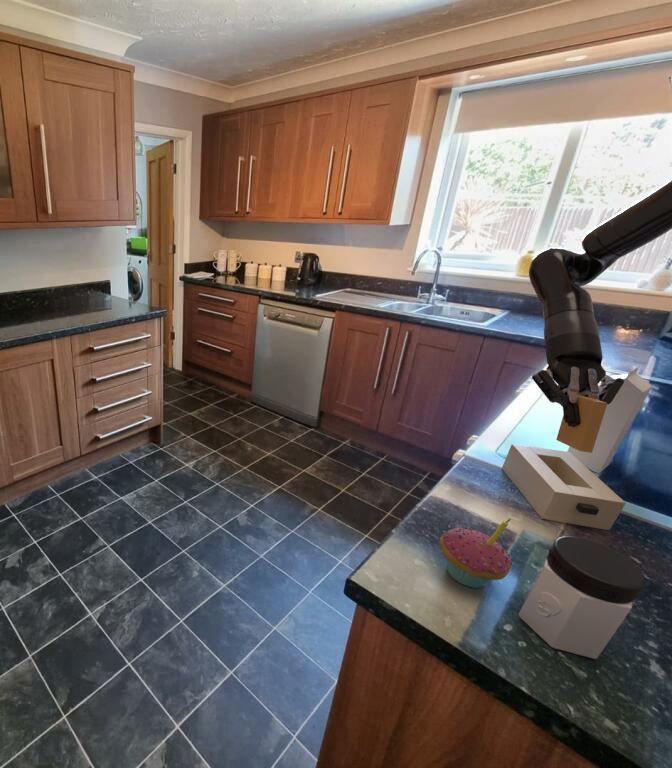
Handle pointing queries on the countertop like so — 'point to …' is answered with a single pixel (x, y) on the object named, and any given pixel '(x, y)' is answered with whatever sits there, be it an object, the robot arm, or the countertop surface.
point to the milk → (615, 421)
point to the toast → (583, 425)
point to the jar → (581, 596)
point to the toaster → (562, 487)
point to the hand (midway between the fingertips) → (582, 426)
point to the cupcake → (475, 556)
